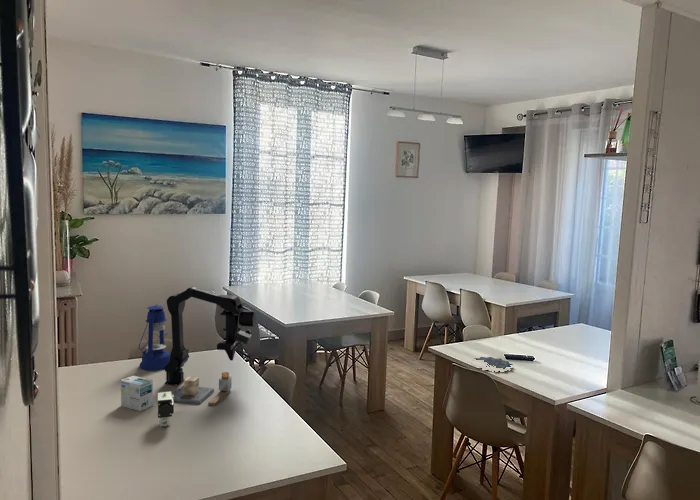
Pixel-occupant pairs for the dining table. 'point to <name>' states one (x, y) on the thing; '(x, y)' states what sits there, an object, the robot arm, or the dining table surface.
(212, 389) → the press bed
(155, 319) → the lantern
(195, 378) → the housing block
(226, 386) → the grey and brass block
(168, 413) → the pneumatic valve
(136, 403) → the light bulb box
